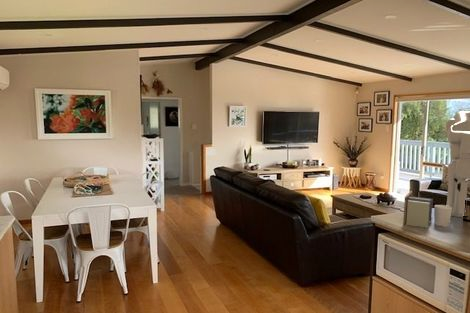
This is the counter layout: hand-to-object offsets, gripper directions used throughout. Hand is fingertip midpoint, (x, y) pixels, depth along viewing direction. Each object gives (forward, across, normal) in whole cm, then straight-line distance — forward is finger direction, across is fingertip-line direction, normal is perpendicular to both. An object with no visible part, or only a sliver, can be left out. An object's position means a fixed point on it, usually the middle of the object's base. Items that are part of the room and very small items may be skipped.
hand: (465, 191), depth 177 cm
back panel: (+19, +26, +2) cm, 32 cm away
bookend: (+19, +20, -8) cm, 29 cm away
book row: (+19, +20, +8) cm, 29 cm away
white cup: (+20, +10, 0) cm, 22 cm away
